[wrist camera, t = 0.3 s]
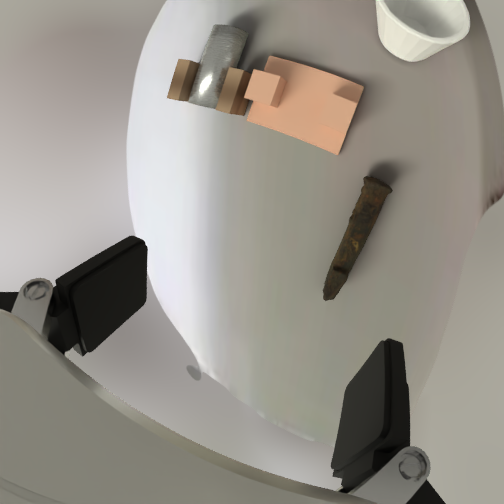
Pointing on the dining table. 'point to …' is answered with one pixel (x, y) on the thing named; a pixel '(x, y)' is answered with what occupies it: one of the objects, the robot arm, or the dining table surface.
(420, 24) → the cup
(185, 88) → the channel block
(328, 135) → the cradle
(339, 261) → the hand tool
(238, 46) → the axle
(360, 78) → the dining table surface
